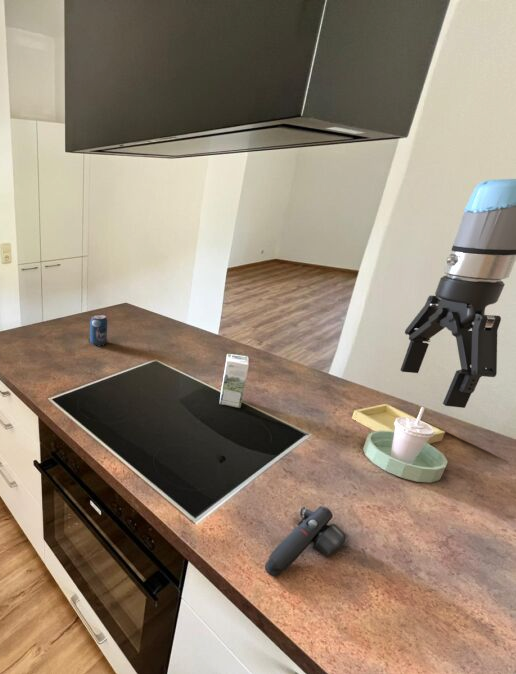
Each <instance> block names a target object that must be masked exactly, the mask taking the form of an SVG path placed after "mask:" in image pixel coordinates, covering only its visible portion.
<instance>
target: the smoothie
mask: <svg viewBox="0 0 516 674" xmlns="http://www.w3.org/2000/svg"><path fill="white" fill-rule="evenodd" d="M425 409H426V407H425V406H421V407H420V409H419V412H418V415H417V417H416V418H417V420H416V419H413V418H407V417H399V418H397V419H396V421H395V422H394V424H395V426H396V427H395V432H394V437H393V443H392V448H391V454H390V457H392V458H395V459H397V460H400V461H402V462H405V463H408V464H412V463H413V462H414V460H415V459H416V457H417V456H418V454H419V453H420V451H421V450H422V449H423V447H424V446H425V444H426V443H427V441H428V440H429V438H430V437H433V436H434V432H435V430H434V429H433V428H432V427H431V426H430V425H431V424H430V425H428V424H429V423H428V424H426V423H427V422H425V421H423V420H421V419H422V416H423V414H424V412H425ZM420 420H421V421H420ZM422 421H423V422H422ZM424 422H425V423H424Z"/></svg>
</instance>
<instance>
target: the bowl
mask: <svg viewBox="0 0 516 674" xmlns="http://www.w3.org/2000/svg"><path fill="white" fill-rule="evenodd" d="M393 437H394V432H393V431H381V430H378V431H371V432H369V434H368V435H367V436H366V439H365V442H364V445H363V448H362V450H363V453H364V455H365V456H366V458H367V459H368V460H369V461H370V462H371V463H372V464H373V465H375V466H377V467H378V468H380V469H382V470H383V471H385V472H386V473H387V472H388V473H390V474H392V475H394V476H397V477H399V478H402V479H405V480H409V481H412V482H417V483H435V482H438V481H440V480H441V479H442V476H443V474H444V472H445V470H446V467H447V465H448V462H449V461H448V459H447V458H446V456H445V454H443V453H442V452H441V451H440V450H439V449H437V448H436V447H434V446H433V445H432V444H427V443H426V444H425V446H424V447H423V449H422V450H421V451H420V453H419V454H418V456H417V457H416V459H415V460H414V462H413V463H412V464H408V463H405V462H402V461H400V460H397V459H395V458H392V457H390V454H391V448H392V443H393Z"/></svg>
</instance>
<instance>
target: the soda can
mask: <svg viewBox="0 0 516 674" xmlns="http://www.w3.org/2000/svg"><path fill="white" fill-rule="evenodd" d="M89 323H90V326H89V335H90V336H89V342H90V344H91V345H92V344H93V345H92V346H94V345H98V346H97V347H101V346H100V345H103V346H105V345H106V343H107V342H108V319H107V315H105V314H100V313H99V314H98V313H97V314H93V315H92V316H91V318H90V320H89ZM104 344H105V345H104Z"/></svg>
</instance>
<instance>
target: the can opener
mask: <svg viewBox="0 0 516 674" xmlns="http://www.w3.org/2000/svg"><path fill="white" fill-rule="evenodd" d="M299 517H300V518H301V519H300V520H299V521H298V523H297V527H295V528H294V529H293V530H292V531H291V532H290V533H289V534H287V536H286V537H285V538H284V539H282V541H281V542H280V543H279V544H278V545H277V546H276V548H275V549H274V550H273V551H272V552H271V554H270V555H269V556H268V560H267V561H266V562H265V564H264V569H265V572H266V573H267V574H268V575H269V576H271V577H274V578H276V577H279V576H280V575H281V574H283V573H284V572H285V571H286V570H287V569H288V568H289V567H290V566H291V565H292V564H293V563H294V562H295V561H296V560H297V559H298V558H299V557H300V556H301V555H302V553H303V552H304V551H305V550H306V549H307V547H309V545H310V544H311V543H312V542H314V544H313V546H312V549H313V550H315V551H316V552H318V553H319V554H320V555H322V556H324V557H325V558H328V557H331V556H332V555H334V554H336V553H337V552H338V551H340V550H341V548H342V547H343V545H344V543H345V542H346V537H347V534H346V533H345V532H344V531H343V530H342V529H341V528H340V527H339V526H338V525H337V524H336V523H332V524H330V525H329V522H330V521H331V520H332V519H333V517H334V515H333V513H332V511H331V510H330V509H329V508H328V507H326V506H319V507H318V508H317V509H316V510H315V511H313V510H311V509H309V508H308V507H305V506H301V508H300V509H299Z"/></svg>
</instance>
